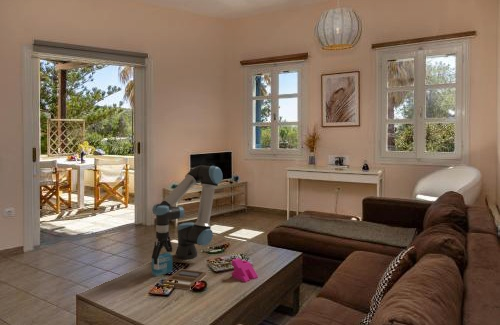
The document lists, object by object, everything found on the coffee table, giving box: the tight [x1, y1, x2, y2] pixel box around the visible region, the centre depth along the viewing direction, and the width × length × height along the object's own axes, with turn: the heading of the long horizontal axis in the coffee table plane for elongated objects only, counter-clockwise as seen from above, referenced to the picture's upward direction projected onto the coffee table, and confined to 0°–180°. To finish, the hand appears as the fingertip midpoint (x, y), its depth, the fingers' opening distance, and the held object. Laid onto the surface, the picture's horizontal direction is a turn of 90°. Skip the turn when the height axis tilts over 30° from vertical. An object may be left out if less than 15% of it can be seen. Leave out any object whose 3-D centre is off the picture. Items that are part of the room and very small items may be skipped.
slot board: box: [162, 268, 208, 291], centre depth 222 cm, size 22×18×3 cm
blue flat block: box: [151, 252, 173, 277], centre depth 232 cm, size 12×4×12 cm, turn 138°
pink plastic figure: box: [231, 257, 259, 283], centre depth 229 cm, size 12×10×10 cm
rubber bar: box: [178, 271, 200, 278], centre depth 227 cm, size 4×12×2 cm, turn 72°
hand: (162, 265), depth 232 cm, fingers open, 13 cm apart
